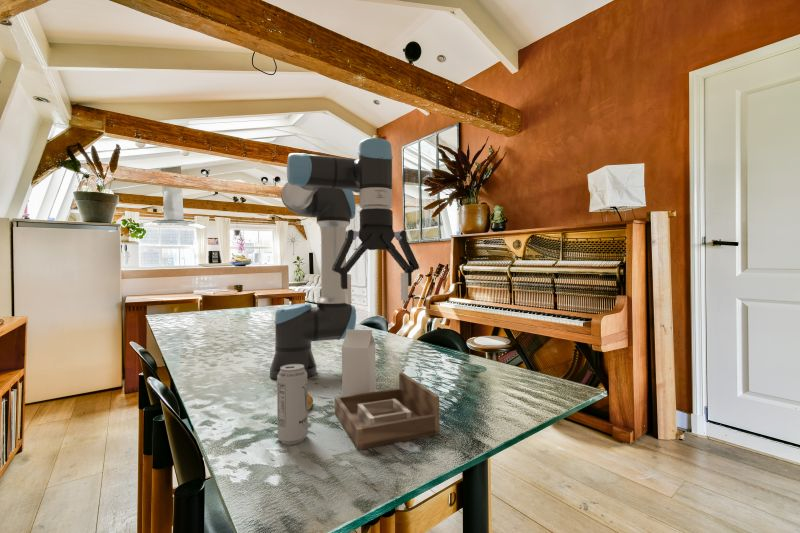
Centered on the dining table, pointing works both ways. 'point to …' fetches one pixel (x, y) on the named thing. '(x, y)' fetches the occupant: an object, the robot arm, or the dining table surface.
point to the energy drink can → (292, 404)
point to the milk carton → (358, 363)
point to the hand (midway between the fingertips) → (377, 302)
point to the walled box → (389, 414)
